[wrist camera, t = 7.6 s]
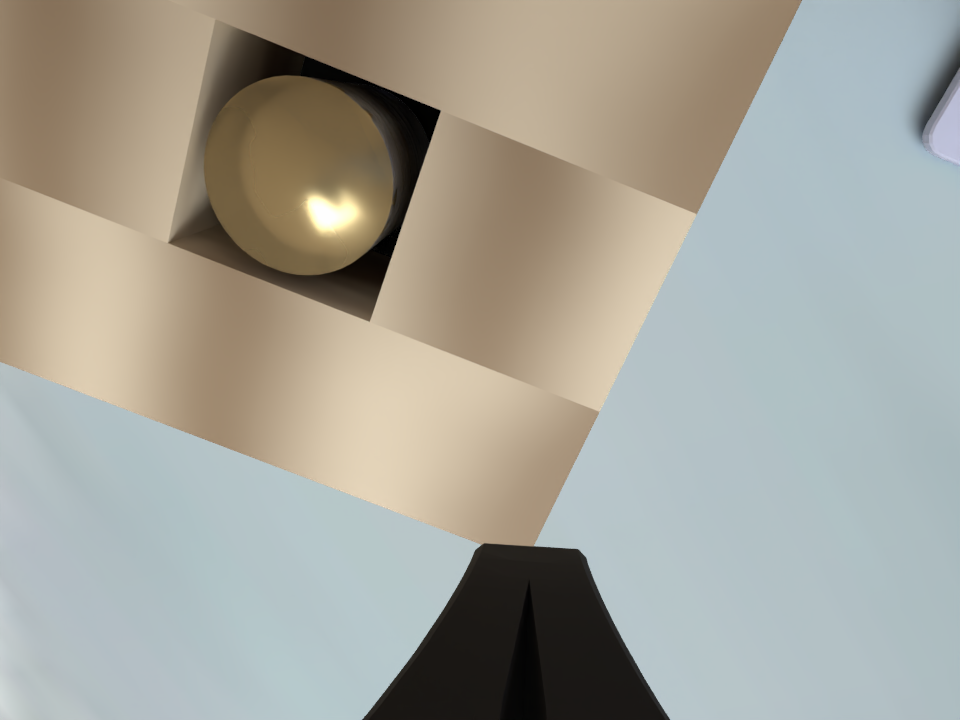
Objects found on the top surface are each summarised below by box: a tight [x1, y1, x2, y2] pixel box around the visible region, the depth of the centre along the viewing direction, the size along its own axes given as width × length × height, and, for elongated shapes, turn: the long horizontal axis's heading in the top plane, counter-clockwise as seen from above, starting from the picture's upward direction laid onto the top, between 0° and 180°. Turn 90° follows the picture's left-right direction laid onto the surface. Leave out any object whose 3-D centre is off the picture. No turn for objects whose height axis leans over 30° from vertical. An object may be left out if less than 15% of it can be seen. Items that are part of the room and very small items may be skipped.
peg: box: [204, 75, 429, 275], centre depth 15 cm, size 4×4×4 cm
